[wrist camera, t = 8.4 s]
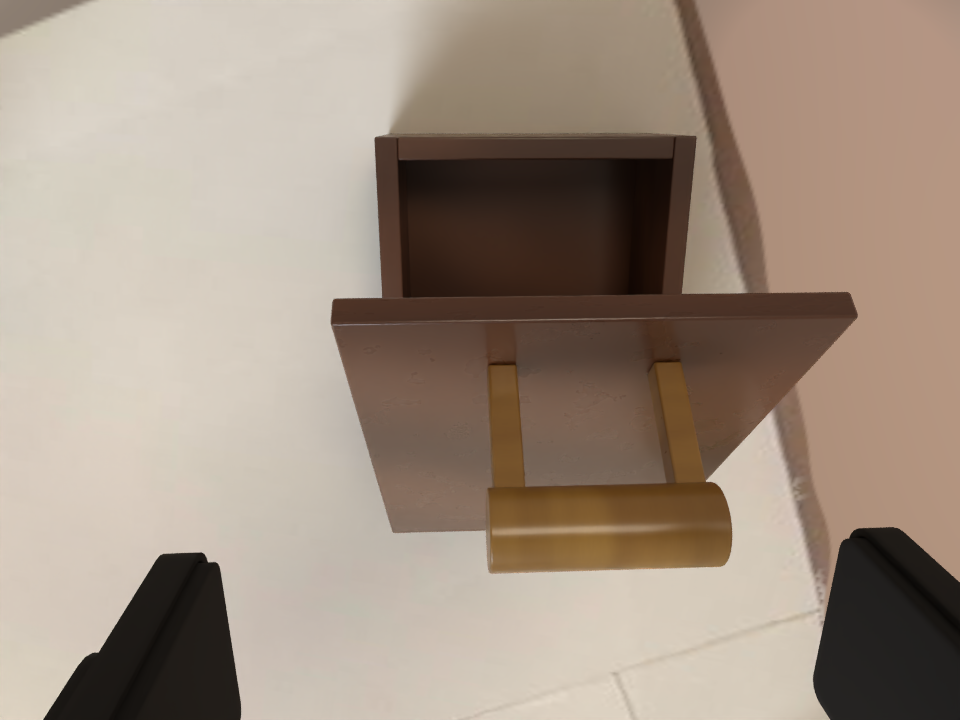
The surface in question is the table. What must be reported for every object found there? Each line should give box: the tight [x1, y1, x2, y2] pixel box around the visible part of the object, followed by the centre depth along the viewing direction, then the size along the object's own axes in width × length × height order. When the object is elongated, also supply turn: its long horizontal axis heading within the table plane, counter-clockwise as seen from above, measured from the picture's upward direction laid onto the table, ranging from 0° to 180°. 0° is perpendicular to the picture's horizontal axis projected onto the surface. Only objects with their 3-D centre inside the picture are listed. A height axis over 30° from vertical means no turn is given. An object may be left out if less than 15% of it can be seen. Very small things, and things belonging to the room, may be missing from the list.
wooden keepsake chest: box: [375, 133, 696, 298], centre depth 30 cm, size 16×12×6 cm
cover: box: [331, 292, 858, 574], centre depth 21 cm, size 16×12×6 cm
